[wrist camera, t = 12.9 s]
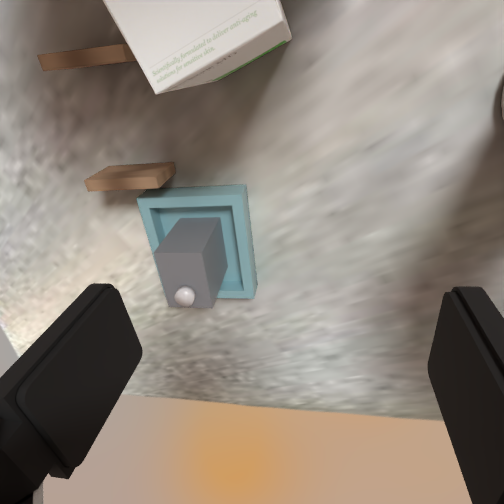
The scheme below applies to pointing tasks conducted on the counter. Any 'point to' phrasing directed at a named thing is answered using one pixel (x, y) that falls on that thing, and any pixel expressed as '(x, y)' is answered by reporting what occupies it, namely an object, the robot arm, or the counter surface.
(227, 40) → the skincare box
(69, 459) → the robot arm
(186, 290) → the grey rectangular block
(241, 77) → the counter surface
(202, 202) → the tray
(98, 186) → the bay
